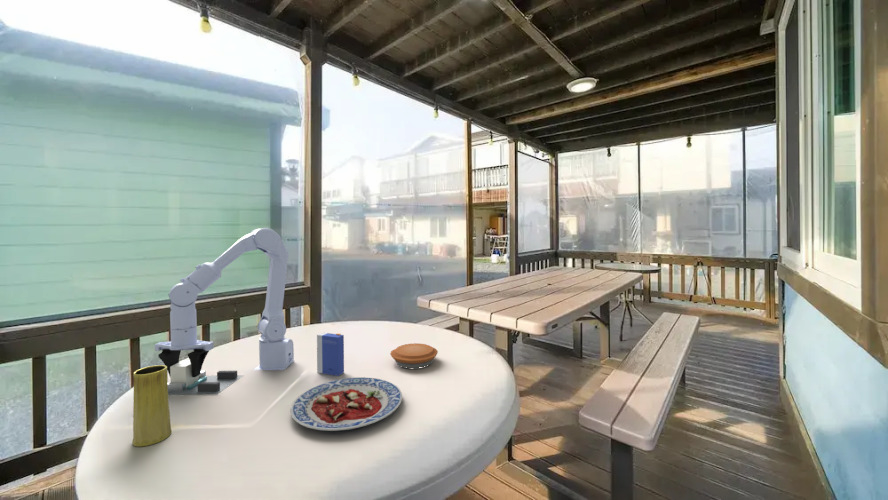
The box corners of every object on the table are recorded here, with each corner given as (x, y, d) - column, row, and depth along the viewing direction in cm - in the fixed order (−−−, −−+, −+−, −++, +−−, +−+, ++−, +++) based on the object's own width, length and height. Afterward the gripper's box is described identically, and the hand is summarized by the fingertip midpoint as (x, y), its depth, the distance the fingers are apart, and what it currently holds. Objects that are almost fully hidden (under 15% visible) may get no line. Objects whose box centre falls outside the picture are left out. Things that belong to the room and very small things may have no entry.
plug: (199, 380, 95) (198, 359, 95) (186, 388, 90) (185, 366, 90) (184, 380, 95) (184, 359, 95) (170, 388, 90) (170, 366, 90)
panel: (243, 377, 99) (243, 375, 99) (217, 396, 87) (217, 394, 87) (188, 377, 99) (188, 375, 99) (154, 397, 87) (154, 394, 87)
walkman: (344, 372, 103) (343, 333, 102) (338, 376, 100) (338, 336, 100) (323, 369, 105) (322, 331, 105) (316, 372, 103) (316, 333, 102)
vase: (178, 432, 71) (176, 366, 70) (144, 450, 65) (142, 377, 65) (159, 427, 73) (157, 362, 72) (124, 443, 67) (122, 373, 67)
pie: (446, 360, 113) (446, 345, 113) (419, 376, 100) (419, 359, 100) (410, 351, 122) (410, 338, 122) (380, 365, 109) (380, 350, 109)
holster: (237, 377, 98) (237, 370, 97) (217, 391, 89) (216, 384, 88) (219, 377, 97) (219, 370, 97) (197, 391, 88) (197, 384, 88)
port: (209, 377, 97) (209, 370, 97) (186, 391, 88) (186, 384, 88) (184, 377, 97) (184, 371, 97) (158, 392, 88) (158, 384, 88)
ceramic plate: (294, 453, 64) (294, 438, 64) (287, 397, 87) (287, 386, 87) (418, 420, 76) (418, 407, 76) (384, 378, 99) (384, 368, 99)
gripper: (144, 331, 88) (145, 382, 89) (200, 331, 88) (201, 381, 89) (165, 324, 95) (167, 371, 96) (217, 324, 95) (219, 371, 96)
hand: (185, 375), depth 93 cm, fingers open, 5 cm apart
